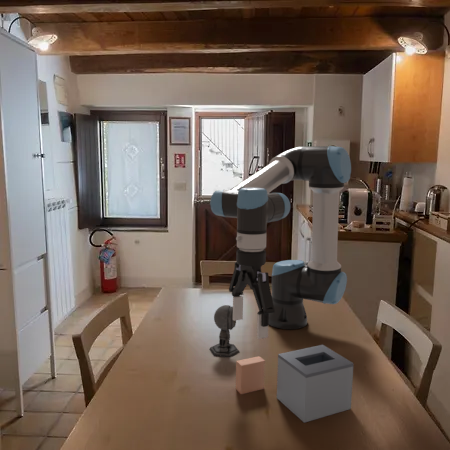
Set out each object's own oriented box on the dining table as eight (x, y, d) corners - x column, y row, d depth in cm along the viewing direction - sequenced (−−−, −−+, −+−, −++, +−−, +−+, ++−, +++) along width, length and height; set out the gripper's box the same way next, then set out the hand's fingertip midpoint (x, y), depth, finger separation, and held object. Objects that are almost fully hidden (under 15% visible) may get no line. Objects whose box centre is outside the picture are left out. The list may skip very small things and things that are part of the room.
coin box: (320, 386, 124) (322, 344, 122) (350, 408, 113) (353, 363, 111) (276, 397, 118) (278, 354, 116) (304, 422, 107) (306, 374, 105)
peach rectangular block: (258, 383, 125) (259, 356, 124) (264, 388, 123) (264, 360, 121) (235, 389, 122) (236, 360, 121) (241, 394, 120) (241, 365, 118)
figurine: (237, 358, 140) (238, 311, 138) (206, 355, 142) (206, 309, 140) (242, 346, 149) (242, 302, 146) (212, 344, 151) (212, 300, 148)
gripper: (217, 241, 126) (216, 314, 129) (263, 260, 104) (260, 348, 107) (241, 239, 129) (240, 311, 133) (290, 257, 107) (287, 343, 110)
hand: (249, 328), depth 120 cm, fingers open, 13 cm apart
